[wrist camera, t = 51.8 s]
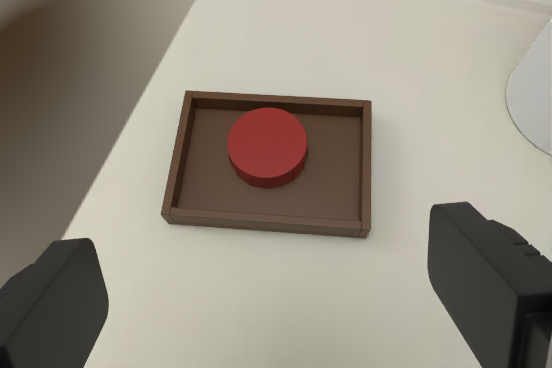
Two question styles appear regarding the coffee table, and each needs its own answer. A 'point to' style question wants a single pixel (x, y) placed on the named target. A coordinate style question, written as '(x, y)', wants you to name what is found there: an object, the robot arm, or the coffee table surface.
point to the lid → (267, 147)
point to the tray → (278, 200)
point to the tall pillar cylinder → (533, 91)
